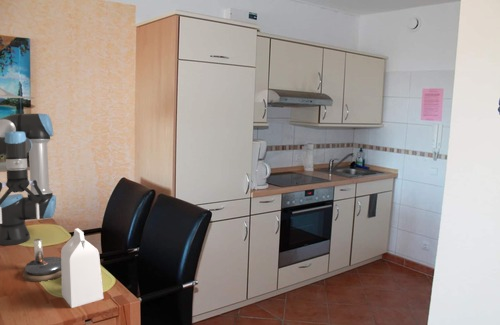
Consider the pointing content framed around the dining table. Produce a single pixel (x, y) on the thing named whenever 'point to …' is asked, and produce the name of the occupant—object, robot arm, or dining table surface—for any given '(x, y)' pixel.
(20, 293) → the dining table surface
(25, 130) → the robot arm
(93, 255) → the milk
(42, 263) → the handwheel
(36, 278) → the wheel base
